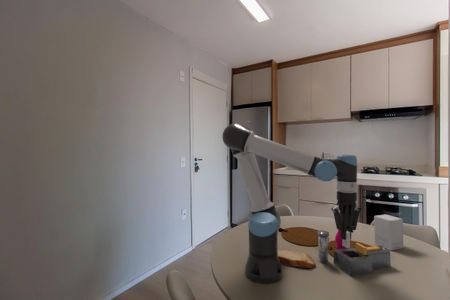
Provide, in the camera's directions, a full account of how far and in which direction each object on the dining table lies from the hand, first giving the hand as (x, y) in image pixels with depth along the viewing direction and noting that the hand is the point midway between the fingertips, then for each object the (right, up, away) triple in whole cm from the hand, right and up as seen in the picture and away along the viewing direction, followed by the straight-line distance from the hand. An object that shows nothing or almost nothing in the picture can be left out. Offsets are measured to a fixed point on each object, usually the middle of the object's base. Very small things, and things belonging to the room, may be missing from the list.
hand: (346, 246), depth 94 cm
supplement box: (+33, -9, +21) cm, 40 cm away
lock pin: (+11, -3, +2) cm, 11 cm away
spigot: (-7, -9, +7) cm, 13 cm away
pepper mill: (+9, -9, +18) cm, 22 cm away
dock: (+8, -9, +1) cm, 12 cm away
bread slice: (-22, -10, +7) cm, 25 cm away
